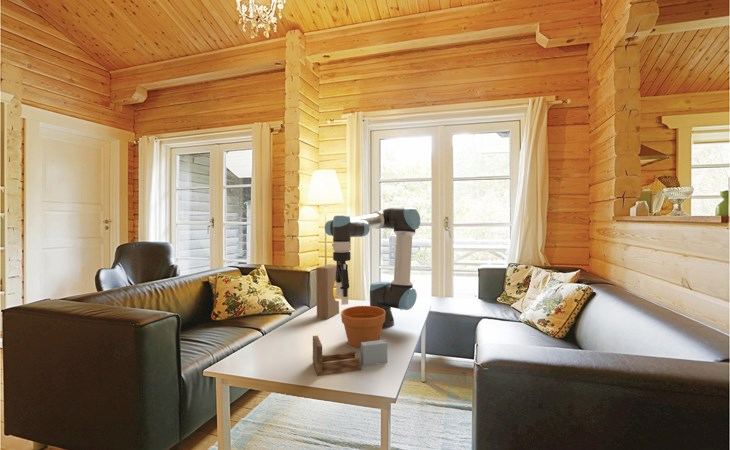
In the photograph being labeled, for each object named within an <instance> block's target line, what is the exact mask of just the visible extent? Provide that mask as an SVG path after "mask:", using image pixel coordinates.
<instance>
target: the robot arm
mask: <svg viewBox="0 0 730 450" xmlns="http://www.w3.org/2000/svg"><path fill="white" fill-rule="evenodd" d="M420 226H421V217H420V213H419V210H417V208H414V207H408V206H406V207H403V206H402V207H390V208H385V209H380V210H377V211H373V212H372V213H369V214H364V215H359V216H353V217H351V215H335V216H333V218H332V220H327V221H326V222H325V224H324V231H325V233H326V235H327V236H331V237H332V244H331V247H332V250H333V252H332V260H333V262H336V265H337V266H336V278H335V280H336V281H335V284H336V285H335V286H336V288H335V293H336V294H335V297H336V298H341V299H340V300H341V302H340V303H341V305H349V289H350V280H349V272H348V271H349V269H348V268H349V267H348V266H349V265H348V263H347V262H350V261H351V260H352V259H351V249H352V248H351V241H352V240H351V238H357V237H360V238H363V237H366V236H367V235H368V234H369V232H370V229H371V230H372V229H390V230H391V229H392V230H393V233H394V234H395V249H394V250H395V252H394V254H395V255H394V272H393V280H392V281H379V282H378V281H377V282H372V283H371V284H370V285H369V306H374V307H379V308H382V309H384V310H385V312H386V315H385V322H384V323H383V326H382V329H383V328H389V327H393V326H394V325H395V318H394V315H393V312H392V309H391V308H393V309H397V310H400V311H401V310H402V311H403V310H405V311H409V310H411V309H413V307H414V306H415V304H416V300H417V297H418V295H417V291H416V289H415V288H414V287H413V282H412V281H411V269H412V252H413V251H412V250H413V249H412V248H413V247H412V246H413V236H414V235H415V234H416V230H417V229H419V228H420Z"/></svg>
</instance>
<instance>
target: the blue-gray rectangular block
mask: <svg viewBox="0 0 730 450" xmlns="http://www.w3.org/2000/svg"><path fill="white" fill-rule="evenodd" d="M386 363H388V342H386V340H384V339H380V340H377V341H369V342H361V348H360V364H362V365H363V367H364V366H365V367H366V366H371V365H378V364H386Z"/></svg>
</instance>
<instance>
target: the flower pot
mask: <svg viewBox="0 0 730 450" xmlns="http://www.w3.org/2000/svg"><path fill="white" fill-rule="evenodd" d="M385 315H386V312H385V310H384V309H382V308H379V307H374V306H370V305H357V306H356V305H355V306H349V307H347V308H344V309H343V310H341V312H340V316H341V322H342V324H343V326H344V330H345V335H346V338H347V342H348V344H349V346H351V347H355V348H360V349H361V342H369V341H377V340H381V336H382V330H383V328H382V326H383V323H384V322H385Z"/></svg>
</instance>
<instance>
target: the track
mask: <svg viewBox="0 0 730 450" xmlns="http://www.w3.org/2000/svg"><path fill="white" fill-rule="evenodd" d="M312 364H313V367H314V371H315V373H316V376H317V377H319V376H326V375H327V376H328V375H333V374H334V375H335V374H340V373H349V372H355V371H356V372H357V371H361V370H362V366H361V358H360V357H356V351H355V350H353V351H347V352H339V353H330V354H323V344H322V342H321V340H320V338H319V336H318V335H312Z"/></svg>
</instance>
